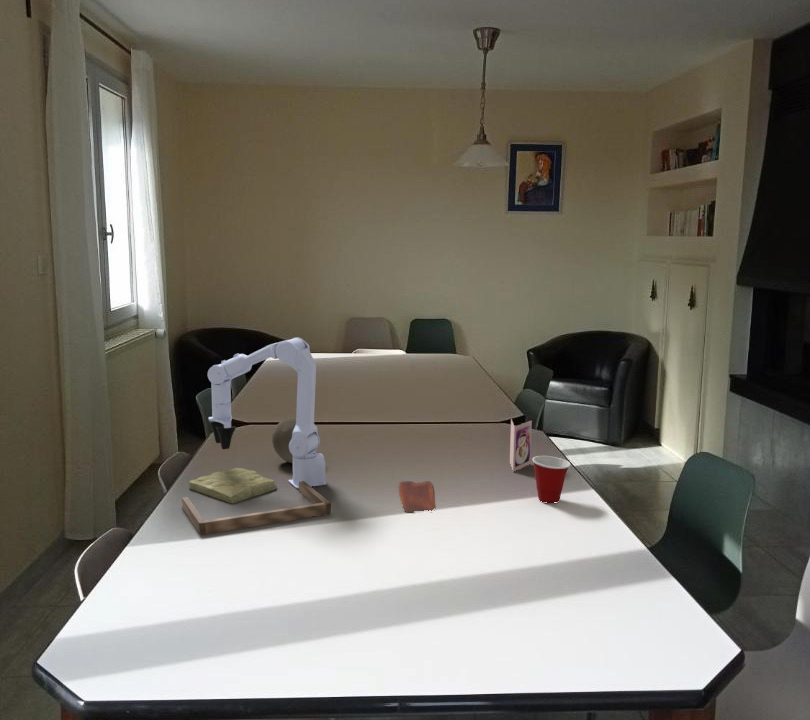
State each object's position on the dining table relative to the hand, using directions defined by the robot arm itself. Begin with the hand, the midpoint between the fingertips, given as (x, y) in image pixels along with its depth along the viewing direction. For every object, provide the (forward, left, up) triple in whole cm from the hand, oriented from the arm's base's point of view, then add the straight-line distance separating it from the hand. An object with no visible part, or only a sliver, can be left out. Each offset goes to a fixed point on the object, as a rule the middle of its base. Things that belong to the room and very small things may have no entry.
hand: (222, 445), depth 242 cm
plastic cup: (-78, +63, -10) cm, 101 cm away
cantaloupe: (-24, -3, -10) cm, 26 cm away
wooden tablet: (-45, +44, -10) cm, 64 cm away
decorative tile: (0, +14, -10) cm, 17 cm away
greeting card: (-88, +31, -10) cm, 94 cm away
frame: (0, +36, -9) cm, 37 cm away
